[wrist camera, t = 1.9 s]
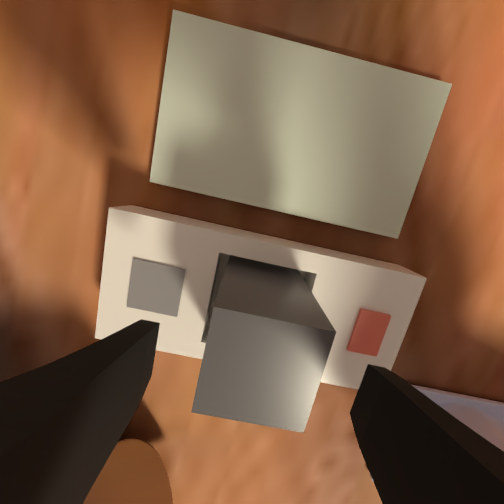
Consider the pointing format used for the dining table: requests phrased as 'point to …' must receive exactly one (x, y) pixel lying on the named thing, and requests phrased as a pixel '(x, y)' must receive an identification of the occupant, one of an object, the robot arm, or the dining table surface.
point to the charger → (263, 347)
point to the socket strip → (211, 274)
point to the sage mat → (292, 126)
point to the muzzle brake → (132, 476)
